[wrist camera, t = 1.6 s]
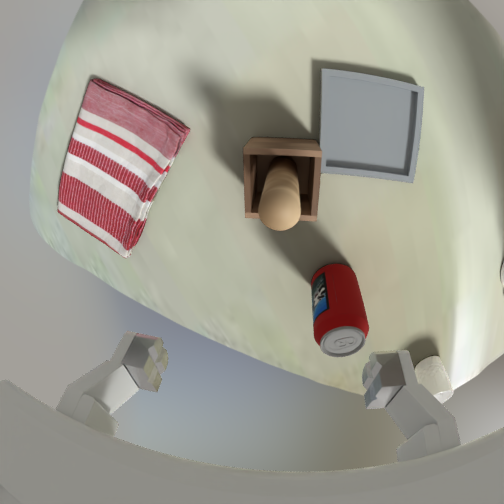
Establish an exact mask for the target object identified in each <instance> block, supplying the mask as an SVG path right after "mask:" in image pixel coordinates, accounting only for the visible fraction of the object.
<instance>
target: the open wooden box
mask: <svg viewBox="0 0 504 504" xmlns="http://www.w3.org/2000/svg"><path fill="white" fill-rule="evenodd" d="M278 156H288V157H290V158H292V159H293V160H294V161H295V163H296V165H297V173H298V184H299V196H300V208H301V214H300V218H299V220H301V221H317V210H318V200H319V188H320V175H321V161H322V150H321V148H320V147H319V145H318V143H317V141H316V140H315V139H299V138H274V137H252V138H251V139H250V140H249V142H248V143H247V144H246V145H245V146H244V148H243V163H244V196H245V218H260V217H259V214H258V208H259V204H260V200H261V196H262V192H263V188H264V185H265V181H266V177H267V173H268V170H269V166H270V163H271V161H272V160H273V159H274V158H276V157H278Z"/></svg>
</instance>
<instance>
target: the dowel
mask: <svg viewBox="0 0 504 504" xmlns="http://www.w3.org/2000/svg"><path fill="white" fill-rule="evenodd" d="M258 214H259V217H260V219H261V221H262V223H263V224H264V225H266V226H267V227H268V228H270V229H273V230H278V231H282V230H287V229H290V228H291V227H293V226H294V225H295V224H296V223H297V222H298V220H299V218H300V214H301V208H300V196H299V184H298V173H297V165H296V163H295V161H294V160H293V159H292V158H290V157H288V156H278V157H276V158H274V159H273V160H272V161H271V163H270V166H269V170H268V173H267V177H266V181H265V185H264V188H263V192H262V196H261V200H260V204H259V208H258Z"/></svg>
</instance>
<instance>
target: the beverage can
mask: <svg viewBox="0 0 504 504" xmlns="http://www.w3.org/2000/svg"><path fill="white" fill-rule="evenodd" d="M311 290H312V310H313V328H314V338H315V341H316V342H317V344H318V345H319V346H320V348H321V350H322V351H323V352H324V353H325V354H327V355H329V356H332V357H345V356H349V355H352V354H354V353H356V352H358V351H359V350H360V349H361V348H362V347H363V346H364V344H365V339H366V336H367V334H368V331H369V325H368V321H367V316H366V312H365V307H364V303H363V299H362V296H361V292H360V288H359V285H358V281H357V278H356V275H355V273H354V271H353V270H352V269H351V268H349V267H348V266H346V265H343V264H330V265H327V266H324V267H322V268H321V269H319V270H318V271H317V272H316V273H315V274H314V276H313V278H312V281H311Z"/></svg>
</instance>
